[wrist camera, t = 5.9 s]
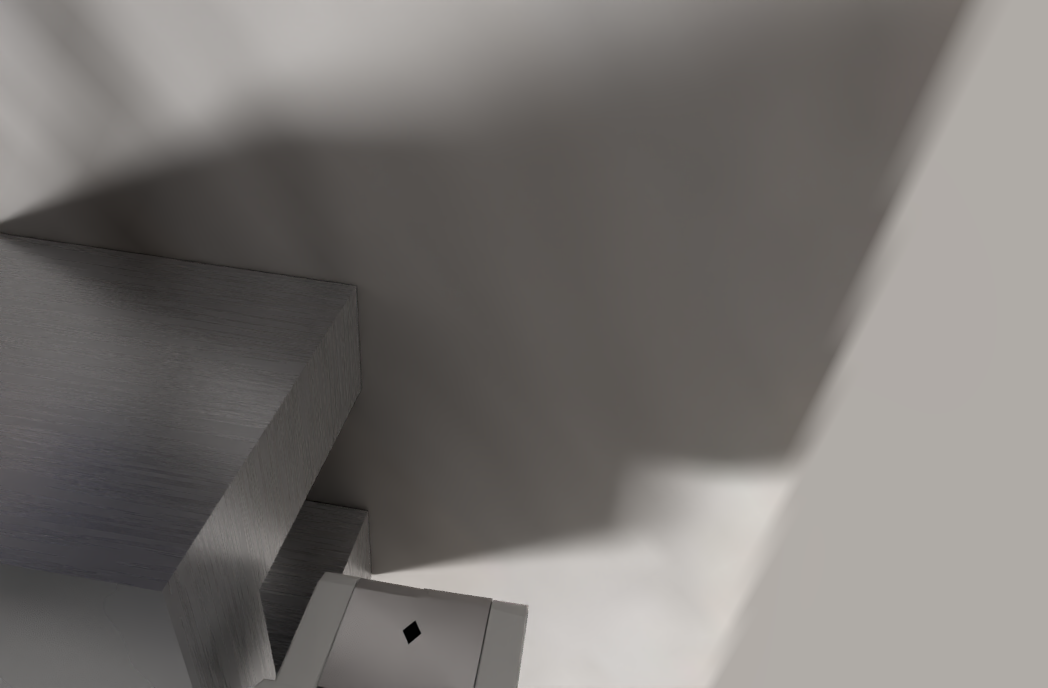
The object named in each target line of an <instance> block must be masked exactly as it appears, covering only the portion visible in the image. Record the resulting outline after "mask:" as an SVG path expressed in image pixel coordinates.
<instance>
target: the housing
mask: <svg viewBox="0 0 1048 688" xmlns="http://www.w3.org/2000/svg"><path fill="white" fill-rule="evenodd" d="M361 389H362V387H361V368H360V349H359V330H358V311H357V291H356V286H353V285H346V284H339V283H332V282H326V281H319V280H312V279H305V278H298V277H292V276H285V275H278V274H271V273H265V272H258V271H251V270H244V269H237V268H231V267H224V266H217V265H210V264H203V263H197V262H190V261H183V260H176V259H170V258H163V257H156V256H149V255H142V254H136V253H129V252H122V251H115V250H108V249H102V248H95V247H88V246H81V245H75V244H68V243H61V242H54V241H47V240H41V239H34V238H27V237H20V236H13V235H7V234H0V688H253V687H254V686H256V685H257V684H258V683H259V682H261V681H262V680H263V679H269V680H275V678H276V676H277V674H278V671H279V669H280V667H281V665H282V662H283V660H284V658H285V655H286V653H287V651H288V649H289V646H290V644H291V642H292V639H293V637H294V635H295V633H296V630H297V628H298V626H299V623H300V621H301V619H302V617H303V614H304V612H305V610H306V608H307V605H308V603H309V601H310V598H311V596H312V594H313V592H314V589H315V587H316V585H317V582H318V581H319V580H320V579H321V577H322V576H323V575H324V573H325V572H331V573H337V574H343V575H350V576H356V577H361V578H364V579H371V560H370V541H369V522H368V511H365V510H359V509H353V508H347V507H341V506H335V505H329V504H323V503H317V502H310V501H305V499H306V497H307V495H308V493H309V491H310V489H311V487H312V485H313V483H314V481H315V479H316V477H317V475H318V473H319V471H320V469H321V467H322V465H323V464H324V462H325V460H326V458H327V456H328V454H329V452H330V450H331V448H332V446H333V444H334V442H335V440H336V438H337V436H338V434H339V432H340V430H341V428H342V426H343V424H344V422H345V420H346V418H347V416H348V414H349V412H350V410H351V409H352V407H353V405H354V403H355V401H356V399H357V397H358V395H359V393H360V391H361Z"/></svg>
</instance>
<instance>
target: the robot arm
mask: <svg viewBox="0 0 1048 688" xmlns="http://www.w3.org/2000/svg"><path fill="white" fill-rule="evenodd" d="M527 618H528V605H524V604H517V603H511V602H504V601H497V600H493V599H492V598H485V597H479V596H472V595H465V594H459V593H452V592H445V591H439V590H432V589H425V588H424V589H420V588H415V587H409V586H404V585H398V584H392V583H387V582H381V581H376V580H370V579H364V578H361V577H356V576H350V575H343V574H337V573H331V572H325V573H324V575H323V576H322V577H321V579H320V580H319V581H318V582H317V585H316V587H315V589H314V592H313V594H312V596H311V598H310V601H309V603H308V605H307V608H306V610H305V612H304V614H303V617H302V619H301V621H300V623H299V626H298V628H297V630H296V633H295V635H294V637H293V639H292V642H291V644H290V646H289V649H288V651H287V653H286V655H285V658H284V660H283V662H282V665H281V667H280V669H279V671H278V674H277V676H276V678H275V680H269V679H263V680H262V681H261V682H259V683H258V684H257V685H256V686H254V687H253V688H518V681H519V674H520V667H521V660H522V653H523V646H524V639H525V632H526V625H527Z"/></svg>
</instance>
